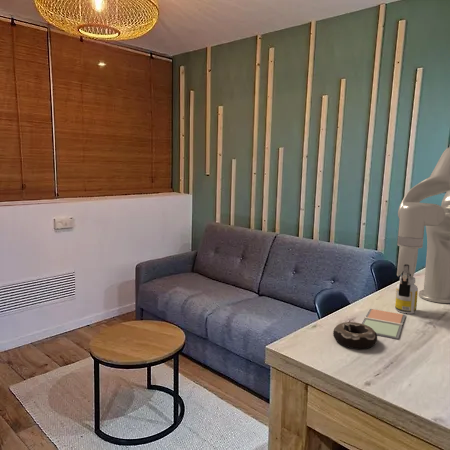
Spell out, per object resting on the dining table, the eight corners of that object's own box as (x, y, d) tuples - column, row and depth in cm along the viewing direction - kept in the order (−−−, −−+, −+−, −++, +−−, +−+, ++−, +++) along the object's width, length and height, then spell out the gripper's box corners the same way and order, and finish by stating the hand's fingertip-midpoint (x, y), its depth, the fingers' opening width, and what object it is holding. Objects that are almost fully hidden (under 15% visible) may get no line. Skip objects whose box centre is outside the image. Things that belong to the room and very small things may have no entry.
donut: (381, 339, 111) (381, 325, 111) (370, 355, 102) (371, 341, 101) (340, 329, 118) (340, 316, 117) (327, 344, 108) (327, 330, 107)
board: (370, 309, 133) (370, 307, 133) (405, 316, 128) (405, 313, 127) (357, 331, 116) (358, 328, 116) (398, 339, 110) (398, 336, 110)
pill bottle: (411, 307, 135) (414, 275, 133) (419, 314, 129) (421, 280, 127) (392, 307, 136) (394, 274, 134) (398, 314, 129) (401, 280, 127)
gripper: (400, 237, 138) (396, 284, 140) (394, 244, 123) (389, 297, 125) (424, 239, 134) (419, 288, 136) (421, 247, 119) (415, 301, 121)
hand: (405, 292), depth 131 cm, fingers open, 9 cm apart
